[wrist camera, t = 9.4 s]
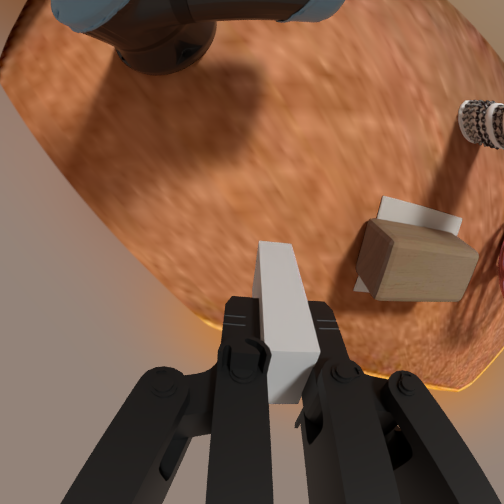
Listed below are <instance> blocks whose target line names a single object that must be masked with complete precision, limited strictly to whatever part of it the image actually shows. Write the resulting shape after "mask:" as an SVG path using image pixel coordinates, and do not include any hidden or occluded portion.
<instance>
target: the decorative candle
mask: <svg viewBox="0 0 504 504" xmlns="http://www.w3.org/2000/svg"><path fill="white" fill-rule="evenodd" d="M458 122H459V127H460V130H461V132H462V134H463V136H464V137H465V138H466V139H467V140H468V141H469V142H471V143H474V144H476V143H478V144H479V145H482V143H483V144H484V146H485V147H486V146H487V147H488V146H490V148H496V149H497V150H498V149H499V148H501V149H504V105H503V104H501V103H495V101H491V102H490V101H488V100H487V101H482V100H478V101H477V100H473V101H472V100H467V101H464V102H463V103H462V104H461V105H460V108H459V111H458Z"/></svg>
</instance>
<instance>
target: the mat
mask: <svg viewBox="0 0 504 504" xmlns="http://www.w3.org/2000/svg"><path fill="white" fill-rule="evenodd" d="M377 219H382V220H388V221H394V222H399V223H405V224H411V225H416V226H421V227H427V228H432V229H437V230H442V231H447V232H451V233H453V234H454V235H455V236H457V234H458V231H459V228H460V225H461V222H462V218H459V217H456V216H453V215H450V214H447V213H444V212H440V211H437V210H434V209H430V208H427V207H424V206H420V205H416V204H413V203H409V202H406V201H402V200H398V199H394V198H390V197H386V196H382V200H381V204H380V208H379V211H378V215H377ZM353 291H358V292H369V291H368V289H367V287H366V286H365V284H364V283H363V281H362V280H361V278H360V276H359V275H358V278H357V281H356V284H355V287H354V289H353Z"/></svg>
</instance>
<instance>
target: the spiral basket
mask: <svg viewBox="0 0 504 504" xmlns="http://www.w3.org/2000/svg"><path fill="white" fill-rule="evenodd" d="M498 278H499V284H500V289H501V292H502V295H503V298H504V240H503V242H502V246H501V250H500V254H499V262H498Z"/></svg>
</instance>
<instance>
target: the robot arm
mask: <svg viewBox="0 0 504 504" xmlns="http://www.w3.org/2000/svg"><path fill="white" fill-rule="evenodd" d="M344 1H345V0H51V9H52V12H53V15H54V16H55V18H56V19H57V20H58V21H59V22H61V23H63V24H65V25H67V26H69V27H70V28H71V29H72V30H73V31H74V32H78V33H83V34H86V35H88V36H91V37H93V38H96V39H98V40H101V41H103V42H105V43H108V44H110V45H112V46H114V47H115V49H116V51H117V53H118V55H119V57H120V59H121V60H122V61H123V62H124V63H125V64H126V65H127V66H128V67H130V68H132V69H134V70H136V71H138V72H141V73H144V74H149V75H165V74H170V73H173V72H177V71H179V70H182V69H184V68H186V67H187V66H189V65H191V64H192V63H194V62H195V61H196V60H198V59H199V58H200V57H201V56H202V55H203V54H204V53H205V52H206V50H207V49H208V48H209V46H210V45H211V43H212V41H213V39H214V36H215V33H216V26H217V23H216V21H228V20H275V21H276V22H280V23H285V22H290V21H299V22H320V21H322V20H324V19H328V18H329V17H331V16H332V15H333V14H335V13H336V12H337V11H338V10H339V8H340V7H341V6H342V5H343V3H344ZM301 396H302V400H303V409H302V411H301V413H300V415H299V416H298V418H297V420H296V422H295V428H298V427H299V425H300V423H301V431H302V440H303V449H304V457H305V467H306V476H307V486H308V496H309V504H501V502H500V500H499V499H498V497H497V495H496V493H495V491H494V489H493V488H492V486H491V484H490V483H489V481H488V479H487V477H486V476H485V474H484V472H483V471H482V469H481V467H480V466H479V464H478V463H477V461H476V460H475V458H474V457H473V455H472V453H471V452H470V450H469V448H468V447H467V445H466V444H465V442H464V441H463V439H462V438H461V436H460V435H459V433H458V432H457V430H456V429H455V427H454V426H453V424H452V423H451V422H450V420H449V419H448V417H447V416H446V414H445V413H444V411H443V410H442V409H441V407H440V406H439V404H438V403H437V402H436V400H435V399H434V397H433V396H432V395H431V393H430V392H429V390H428V389H427V388H426V386H425V385H424V384H423V382H422V381H421V380H420V379H419V378H418V377H417V376H416V375H415V374H413V373H411V372H408V371H403V370H402V371H396V372H395V373H393V374H392V375H391V376H390V378H389V379H383V378H378V377H373V376H369V375H366V374H364V372H363V371H362V369H361V367H360V366H359V365H357V364H356V363H355V362H354V361H351V360H350V359H349V356H348V353H347V350H346V347H345V344H344V342H343V339H342V336H341V333H340V330H339V327H338V324H337V322H336V319H335V316H334V313H333V310H332V309H331V308H330V307H329V306H328V305H327V304H326V303H325V302H321V301H307V298H306V294H305V291H304V287H303V283H302V280H301V276H300V273H299V269H298V266H297V262H296V259H295V255H294V252H293V248H292V245H291V244H287V243H277V242H266V241H259V244H258V251H257V259H256V266H255V274H254V281H253V289H252V298H250V297H238V296H232V297H231V298H230V299H229V300H228V302H227V303H226V304H225V313H224V321H223V330H222V339H221V344H220V347H219V349H218V360H217V363H216V364H215V365H214V366H213V367H212V368H211V369H209V370H207V371H206V372H202V373H198V374H192V375H183V373H182V372H180V371H178V370H176V369H174V368H170V367H165V366H164V367H155V368H153V369H151V370H148V371H147V372H146V373H145V374H144V375H143V376H142V377H141V378H140V379H139V381H138V382H137V384H136V385H135V387H134V389H133V390H132V392H131V393H130V394H129V396H128V398H127V399H126V401H125V402H124V404H123V405H122V407H121V408H120V410H119V411H118V413H117V414H116V416H115V417H114V419H113V420H112V422H111V424H110V425H109V427H108V428H107V430H106V431H105V433H104V434H103V436H102V438H101V439H100V441H99V442H98V444H97V445H96V447H95V449H94V450H93V452H92V453H91V455H90V456H89V458H88V460H87V461H86V463H85V465H84V466H83V468H82V469H81V471H80V472H79V474H78V476H77V477H76V479H75V481H74V482H73V484H72V486H71V487H70V489H69V490H68V492H67V494H66V495H65V497H64V499H63V500H62V502H61V504H162V503H163V501H164V499H165V496H166V494H167V492H168V490H169V488H170V486H171V483H172V481H173V479H174V477H175V475H176V473H177V470H178V468H179V466H180V464H181V462H182V459H183V457H184V455H185V453H186V450H187V448H188V446H189V444H190V442H191V439H192V437H195V436H201V435H206V434H211V440H210V452H209V465H208V478H207V491H206V504H273V481H272V460H271V441H270V421H269V404H298V403H299V400H300V398H301ZM397 425H398V426H399V427H400V428H399V427H398V426H397Z"/></svg>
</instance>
